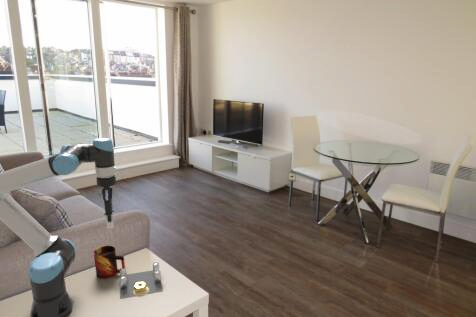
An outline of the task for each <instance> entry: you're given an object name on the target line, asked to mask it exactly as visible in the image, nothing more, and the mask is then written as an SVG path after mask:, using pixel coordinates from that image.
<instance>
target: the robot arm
mask: <svg viewBox="0 0 476 317" xmlns="http://www.w3.org/2000/svg"><path fill="white" fill-rule="evenodd" d="M114 150H115V149H114V144H113V140H112V139H111V138H108V137H99V138H94V139H93V140H92V143H87V144H86V143H85V144H84V143H79V144H78V143H75V144H74V143H70V144H63V145H62V146H61V148H60V153H57V154H54V155H51V156H48V157H46V158H42V159H39V160H35V161H32V162H29V163H27V164H23V165H20V166H17V167H14V168H11V169H8V170H5V171H2V172H0V221H1V222H2V223H3V224H5V226H6V227H8V228H9V229H10V230H11V231H12V233H14V234H15V235H16V236H18V238H20V239H21V240H22V241H23V242H24V243H25V244H26V245H27V246H29V248H31V249H32V250H33V251H34V252H33V257H34V259H33V260H32V261H31V262H30V264H29V266H28V277H29V283H30V287H31V293H32V299H33V300H32V305H31V307H30V308H31V309H30V312H29V313H30V314H29V315H30V317H68V316H69V315H70V314H71V312H72V311H73V309H74V308H73V307H74V302H73V300H72V298H71V296H70V295H69V293H68V291H67V287H66V286H67V285H66V279H65V278H66V275H67V273H68V272H69V270H70V268H71V266H72V265H73V263H74V261H75V259H76V257H77V256H76V255H77V248H76V246H75V244H74V242H73V241H72V240H70V239H68V238H61V237H60V236H59V235H56V234H55V235H53V234H51V233H50V232H49V231H47V229H46V228H45V227H44V226H42V224H40V223H39V222H38V221H37V219H35V218H34V217H33V216H32V215H31V214H30V213H29V212H28V211H27V210H26V209H25V208H23V206H22V205H21V204H19V203H18V202H17V201H16V200H15V199H14V198H13V196H12V195H10V193H11V192H12V191H13V192H14V191H16V190H19V189H22V188H25V187H28V186H31V185H34V184H37V183H40V182H43V181H46V180H49V179H52V178H55V177H57V176H58V177H59V176H67V175H70V174H72V173H74V172H76V171H77V169H78V168H79V167H80V166H81V165H82V164H84V163H94V169H95V170H94V172H95V176H96V179H95V180H96V185H97V187H101V195H102V199H103V203H104V212H105V213H103V215H104V216H105V222H106V229H114V227H115V226H114V224H115V223H114V214H113V213H114V212H115V210H114V209H113V208H114V207H113V200H112V199H113V186H115V185H116V184H117V178H116V176H117V175H116V170H117V167H116V166H115V165H116V164H115V152H114Z"/></svg>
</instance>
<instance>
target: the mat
mask: <svg viewBox="0 0 476 317" xmlns="http://www.w3.org/2000/svg"><path fill="white" fill-rule="evenodd" d="M137 282H144V283H145V284H146V289H145V291H144V292H141V293H137V292H136V291H134V285H135V284H136V283H137ZM163 291H164V290H163V285H162V281H161V282H160V283H154V274H153V269H152V270H147V271H139V272H135V273H129V274H128V273H127V288H126V289H120V288H119V300H120V299H121V300H122V299H129V298H134V297H142V296H146V295H150V294H157V293H161V292H163Z"/></svg>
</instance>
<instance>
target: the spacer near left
mask: <svg viewBox="0 0 476 317" xmlns="http://www.w3.org/2000/svg"><path fill="white" fill-rule="evenodd" d="M118 279H119V290H120V289H126V288H127V278H126V276H121V277H120V276H119V278H118Z"/></svg>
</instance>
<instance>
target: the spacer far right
mask: <svg viewBox="0 0 476 317" xmlns="http://www.w3.org/2000/svg"><path fill="white" fill-rule="evenodd" d="M152 270H153V274H154V271H156V270H159V271H160V262H153V263H152Z"/></svg>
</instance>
